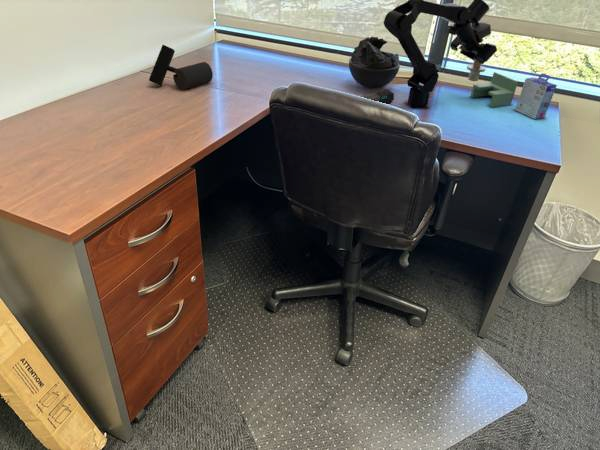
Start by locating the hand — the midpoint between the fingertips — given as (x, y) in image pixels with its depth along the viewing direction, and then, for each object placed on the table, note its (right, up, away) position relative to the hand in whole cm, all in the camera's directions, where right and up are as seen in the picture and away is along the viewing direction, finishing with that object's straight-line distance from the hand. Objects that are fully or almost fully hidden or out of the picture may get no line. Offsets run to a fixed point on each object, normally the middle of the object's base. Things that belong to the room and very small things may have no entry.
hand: (480, 62), depth 178 cm
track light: (-114, -8, +3) cm, 115 cm away
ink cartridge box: (+17, -21, -4) cm, 27 cm away
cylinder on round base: (-2, -6, +3) cm, 7 cm away
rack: (+6, -13, +5) cm, 15 cm away
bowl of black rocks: (-40, -6, +11) cm, 42 cm away
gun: (-45, -22, -11) cm, 52 cm away
